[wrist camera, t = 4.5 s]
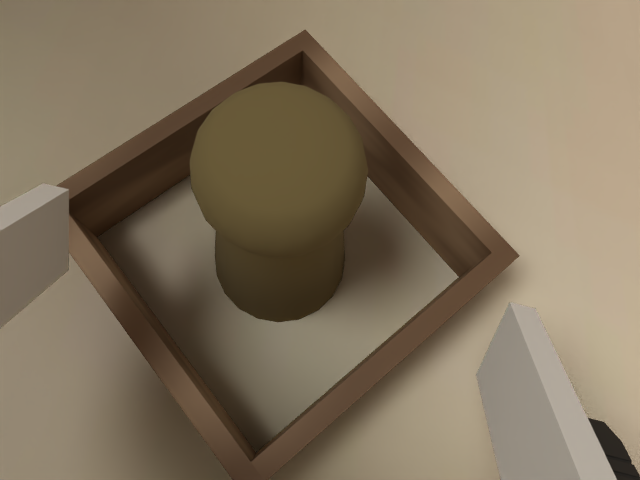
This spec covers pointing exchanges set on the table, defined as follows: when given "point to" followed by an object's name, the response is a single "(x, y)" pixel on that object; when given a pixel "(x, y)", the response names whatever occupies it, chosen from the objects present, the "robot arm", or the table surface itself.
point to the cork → (278, 195)
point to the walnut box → (174, 165)
